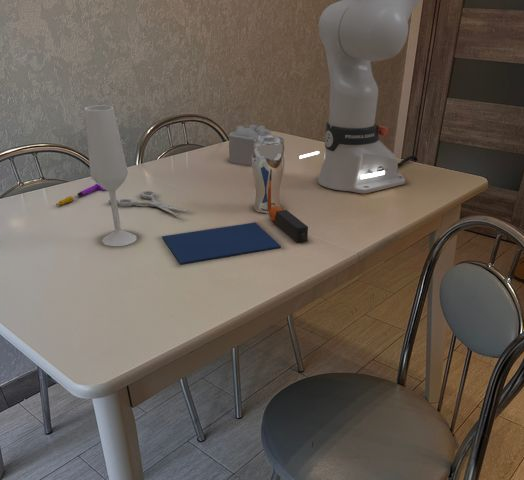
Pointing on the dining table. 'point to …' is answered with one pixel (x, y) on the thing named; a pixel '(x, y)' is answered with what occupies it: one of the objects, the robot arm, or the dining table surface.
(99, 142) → the champagne flute
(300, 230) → the marker
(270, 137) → the beer glass
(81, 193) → the purple and yellow rod
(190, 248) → the mat
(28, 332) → the dining table surface
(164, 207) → the scissors
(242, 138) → the lumpy-topped squat cylinder
